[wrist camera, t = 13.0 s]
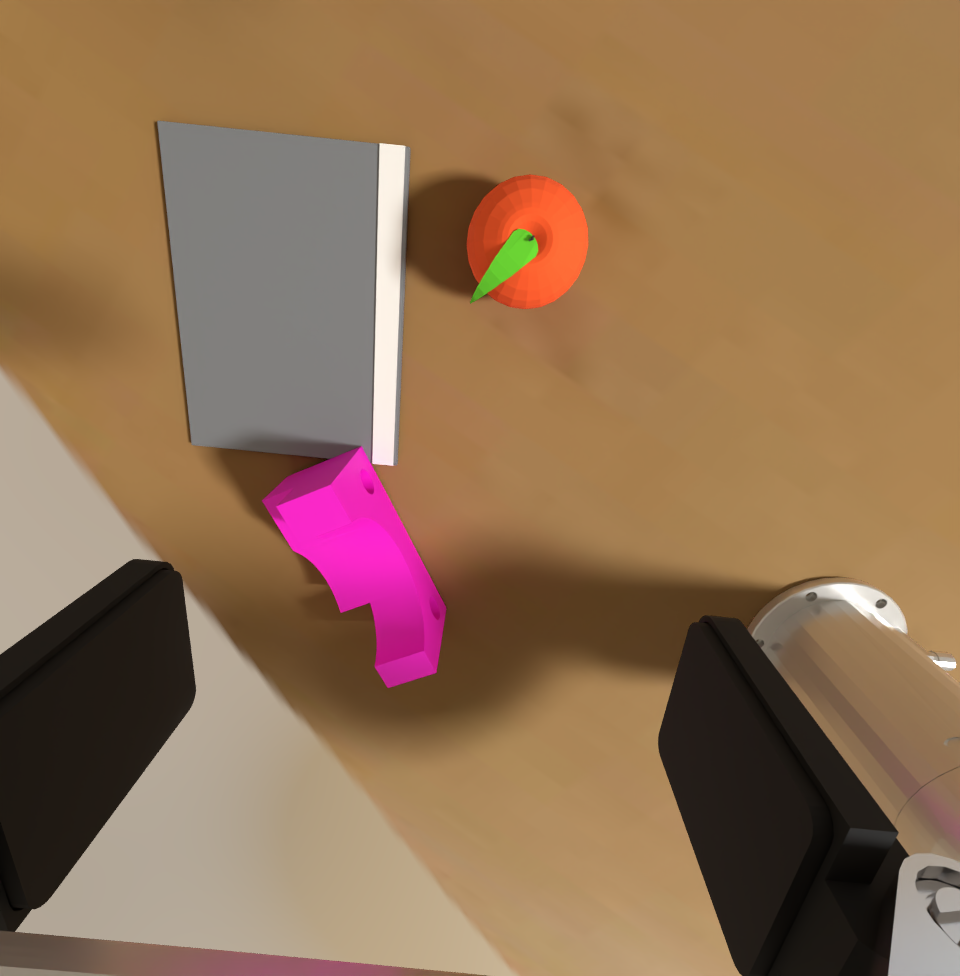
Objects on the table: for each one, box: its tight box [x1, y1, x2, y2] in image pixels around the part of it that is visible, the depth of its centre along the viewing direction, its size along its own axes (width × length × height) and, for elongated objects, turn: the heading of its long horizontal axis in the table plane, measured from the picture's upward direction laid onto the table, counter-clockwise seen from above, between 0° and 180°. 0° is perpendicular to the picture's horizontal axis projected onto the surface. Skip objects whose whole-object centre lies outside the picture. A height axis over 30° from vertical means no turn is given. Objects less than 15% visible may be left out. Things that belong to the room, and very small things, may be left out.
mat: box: [157, 121, 410, 466], centre depth 34 cm, size 15×20×1 cm
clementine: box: [467, 175, 588, 309], centre depth 30 cm, size 8×7×7 cm
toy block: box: [262, 446, 446, 688], centre depth 37 cm, size 15×6×8 cm, turn 23°
